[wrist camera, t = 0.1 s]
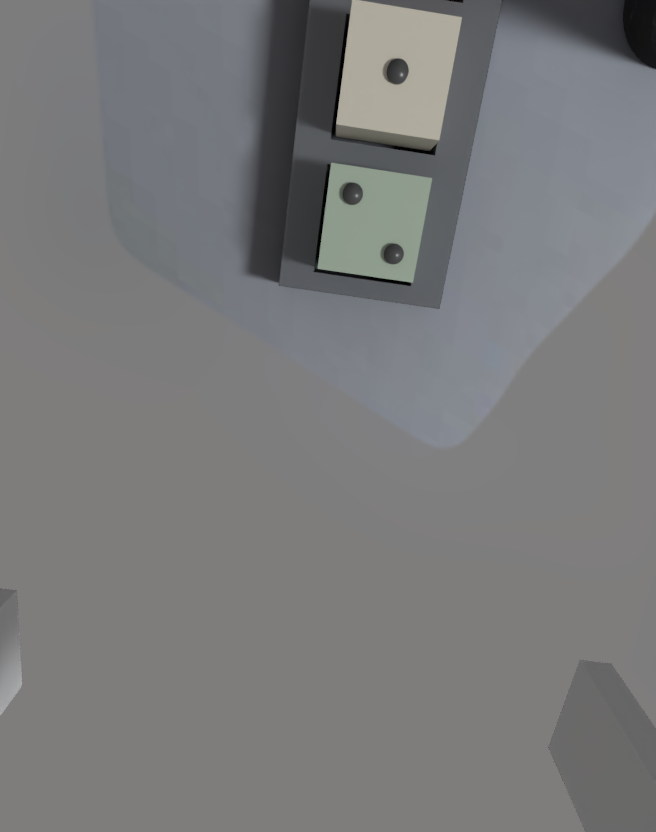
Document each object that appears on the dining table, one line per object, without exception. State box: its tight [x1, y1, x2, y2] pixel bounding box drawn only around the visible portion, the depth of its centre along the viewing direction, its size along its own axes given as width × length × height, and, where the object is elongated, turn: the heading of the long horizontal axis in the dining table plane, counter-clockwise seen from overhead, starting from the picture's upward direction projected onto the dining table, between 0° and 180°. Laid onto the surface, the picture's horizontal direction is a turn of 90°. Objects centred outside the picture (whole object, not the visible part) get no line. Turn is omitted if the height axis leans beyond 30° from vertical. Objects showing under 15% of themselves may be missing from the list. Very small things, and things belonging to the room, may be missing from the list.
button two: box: [318, 163, 432, 283], centre depth 32 cm, size 6×6×3 cm
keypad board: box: [279, 0, 502, 309], centre depth 31 cm, size 25×11×2 cm, turn 172°
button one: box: [336, 0, 462, 151], centre depth 29 cm, size 6×6×3 cm
